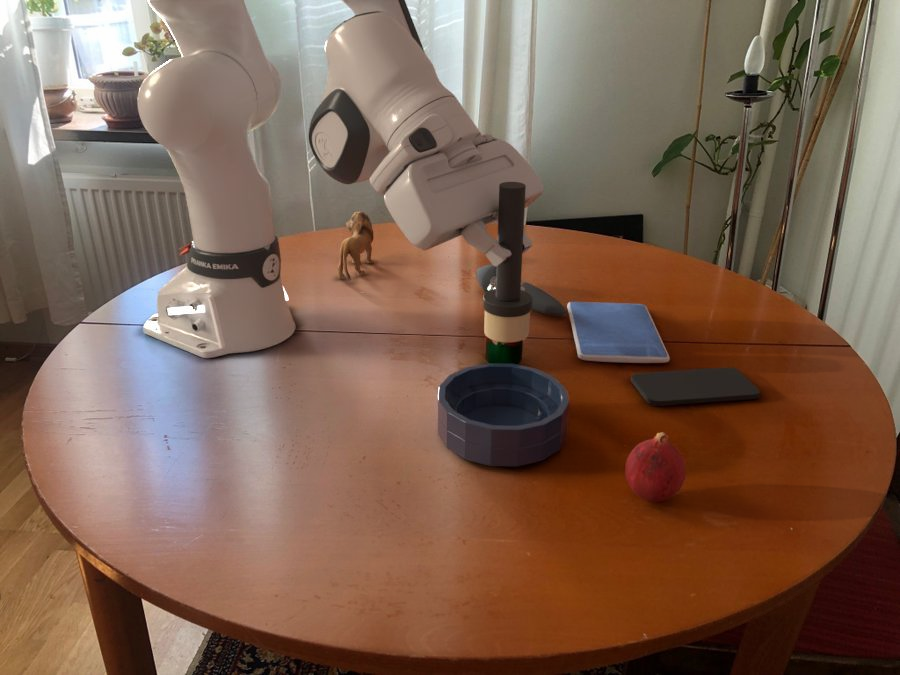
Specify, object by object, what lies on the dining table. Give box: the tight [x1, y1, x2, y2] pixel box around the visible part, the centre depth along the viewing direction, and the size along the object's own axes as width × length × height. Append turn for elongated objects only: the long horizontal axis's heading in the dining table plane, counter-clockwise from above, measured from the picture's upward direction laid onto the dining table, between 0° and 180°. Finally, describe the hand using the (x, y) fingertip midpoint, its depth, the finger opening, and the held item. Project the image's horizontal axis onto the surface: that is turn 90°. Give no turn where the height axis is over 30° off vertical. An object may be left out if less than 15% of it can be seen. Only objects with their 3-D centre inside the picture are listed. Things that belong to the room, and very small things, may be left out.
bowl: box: [437, 362, 570, 467], centre depth 85 cm, size 15×15×6 cm
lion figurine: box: [337, 211, 375, 282], centre depth 132 cm, size 15×5×9 cm, turn 178°
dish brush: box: [482, 182, 532, 342], centre depth 77 cm, size 5×5×16 cm
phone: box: [630, 366, 761, 407], centre depth 95 cm, size 7×1×15 cm
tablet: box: [566, 301, 671, 364], centre depth 110 cm, size 19×13×1 cm, turn 177°
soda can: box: [484, 276, 526, 365], centre depth 99 cm, size 5×5×12 cm
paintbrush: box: [476, 264, 567, 317], centre depth 120 cm, size 20×5×5 cm, turn 48°
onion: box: [624, 431, 687, 503], centre depth 74 cm, size 6×6×8 cm
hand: (514, 256), depth 76 cm, fingers closed on dish brush, 2 cm apart
